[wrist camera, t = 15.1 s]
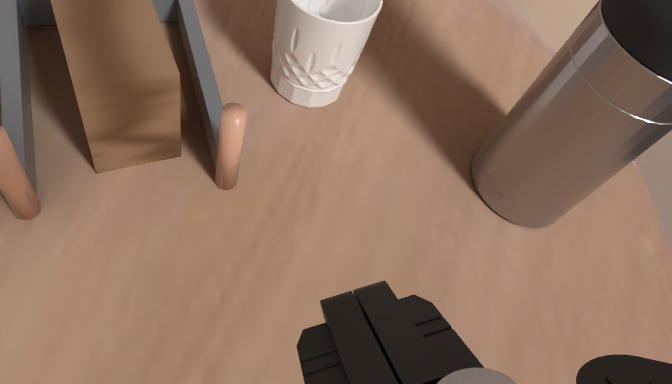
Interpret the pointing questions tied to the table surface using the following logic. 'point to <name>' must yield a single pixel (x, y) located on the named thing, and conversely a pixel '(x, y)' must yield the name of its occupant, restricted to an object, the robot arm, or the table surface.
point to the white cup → (318, 47)
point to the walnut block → (122, 80)
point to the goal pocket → (16, 131)
